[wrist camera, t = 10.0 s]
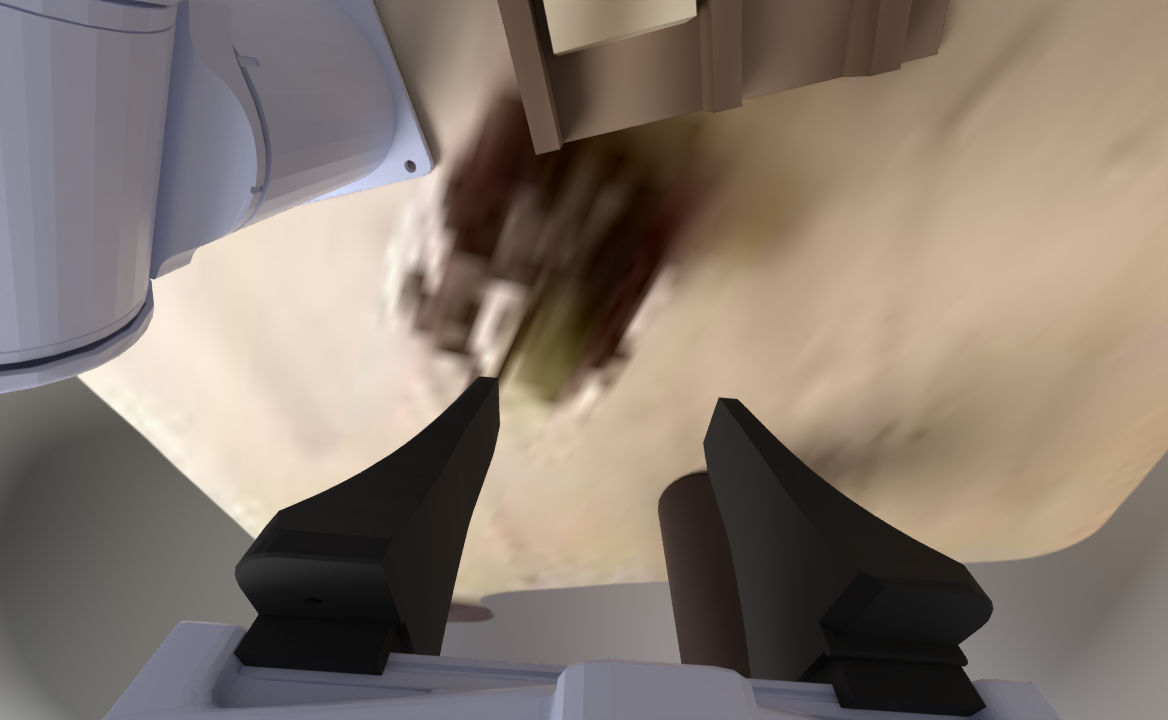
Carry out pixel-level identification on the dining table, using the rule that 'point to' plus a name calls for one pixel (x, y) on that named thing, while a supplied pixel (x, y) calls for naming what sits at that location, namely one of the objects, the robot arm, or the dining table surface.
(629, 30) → the offcut top
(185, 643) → the robot arm
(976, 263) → the dining table surface
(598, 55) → the rack
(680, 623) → the bottle
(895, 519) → the dining table surface
